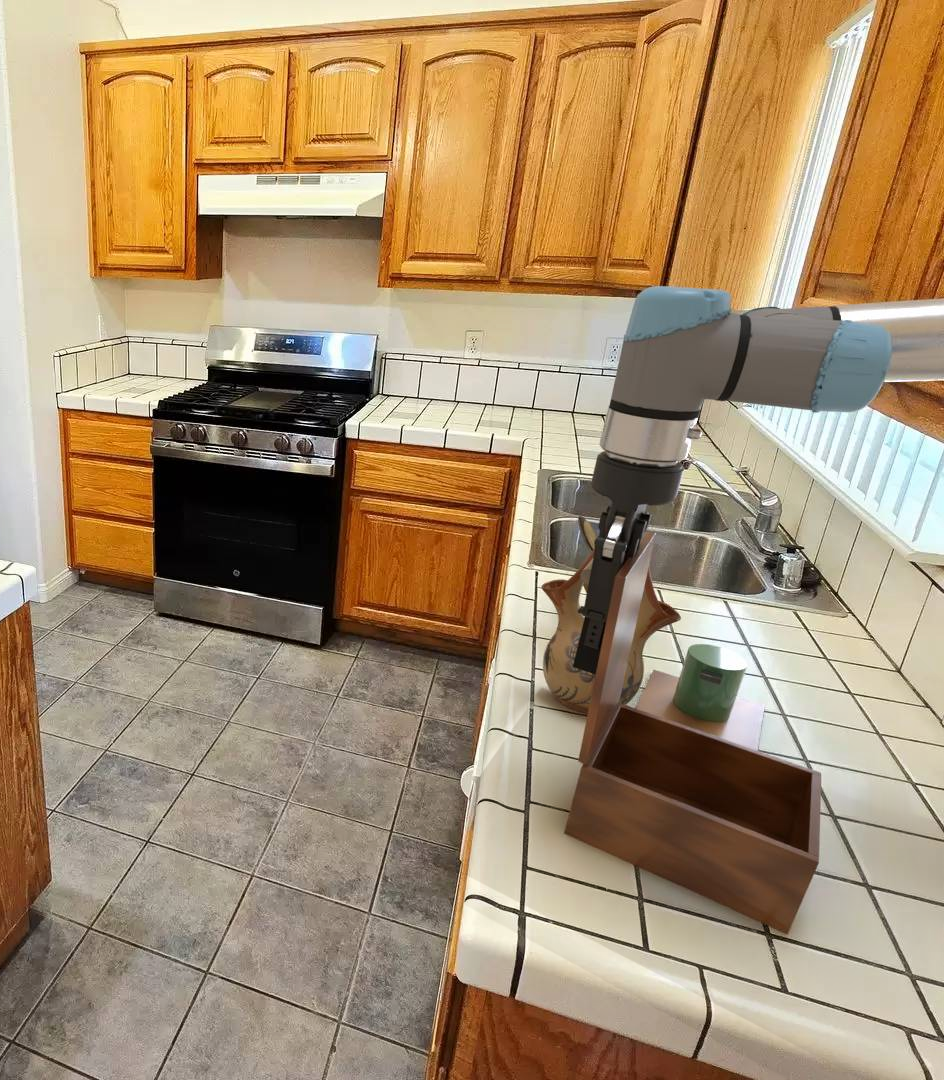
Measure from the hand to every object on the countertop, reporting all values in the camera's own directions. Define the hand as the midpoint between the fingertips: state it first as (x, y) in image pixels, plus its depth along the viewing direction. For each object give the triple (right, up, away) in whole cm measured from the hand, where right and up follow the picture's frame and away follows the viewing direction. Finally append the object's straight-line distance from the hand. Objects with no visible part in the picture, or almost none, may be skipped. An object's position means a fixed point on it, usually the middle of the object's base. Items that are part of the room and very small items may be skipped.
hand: (587, 668), depth 81 cm
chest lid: (+2, +3, -3) cm, 5 cm away
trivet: (+26, -10, +22) cm, 36 cm away
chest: (+9, -18, -1) cm, 20 cm away
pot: (+26, -9, +22) cm, 35 cm away
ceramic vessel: (+10, -9, +22) cm, 26 cm away
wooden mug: (+24, -1, +45) cm, 51 cm away
